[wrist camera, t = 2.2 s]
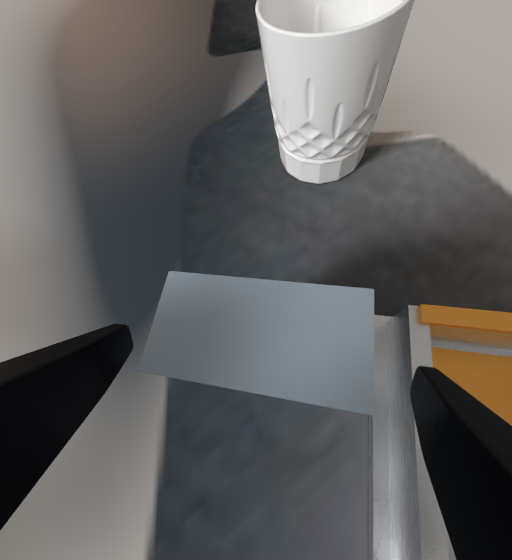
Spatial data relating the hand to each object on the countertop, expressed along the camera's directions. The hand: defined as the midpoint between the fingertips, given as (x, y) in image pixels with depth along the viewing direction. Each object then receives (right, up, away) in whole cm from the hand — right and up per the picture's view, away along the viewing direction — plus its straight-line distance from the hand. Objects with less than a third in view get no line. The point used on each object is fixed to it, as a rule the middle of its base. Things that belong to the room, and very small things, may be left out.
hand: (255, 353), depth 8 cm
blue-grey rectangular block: (+2, -3, +8) cm, 9 cm away
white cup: (+6, +13, +14) cm, 20 cm away
